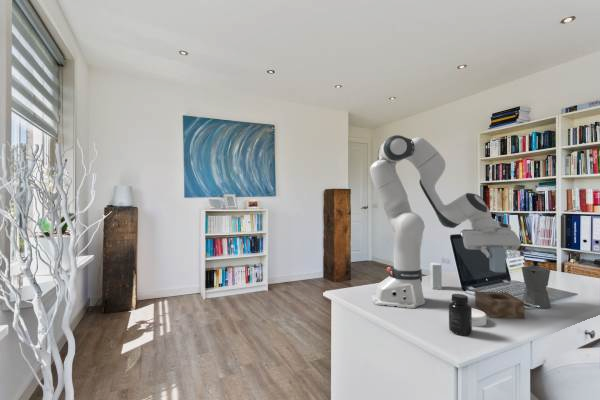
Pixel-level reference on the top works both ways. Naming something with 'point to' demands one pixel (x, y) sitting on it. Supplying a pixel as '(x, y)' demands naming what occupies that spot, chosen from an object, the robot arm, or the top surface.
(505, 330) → the top surface
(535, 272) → the coffeepot
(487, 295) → the socket block
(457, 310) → the supplement bottle
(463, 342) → the top surface
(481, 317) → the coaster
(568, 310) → the top surface
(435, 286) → the skincare box
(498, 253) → the square peg
